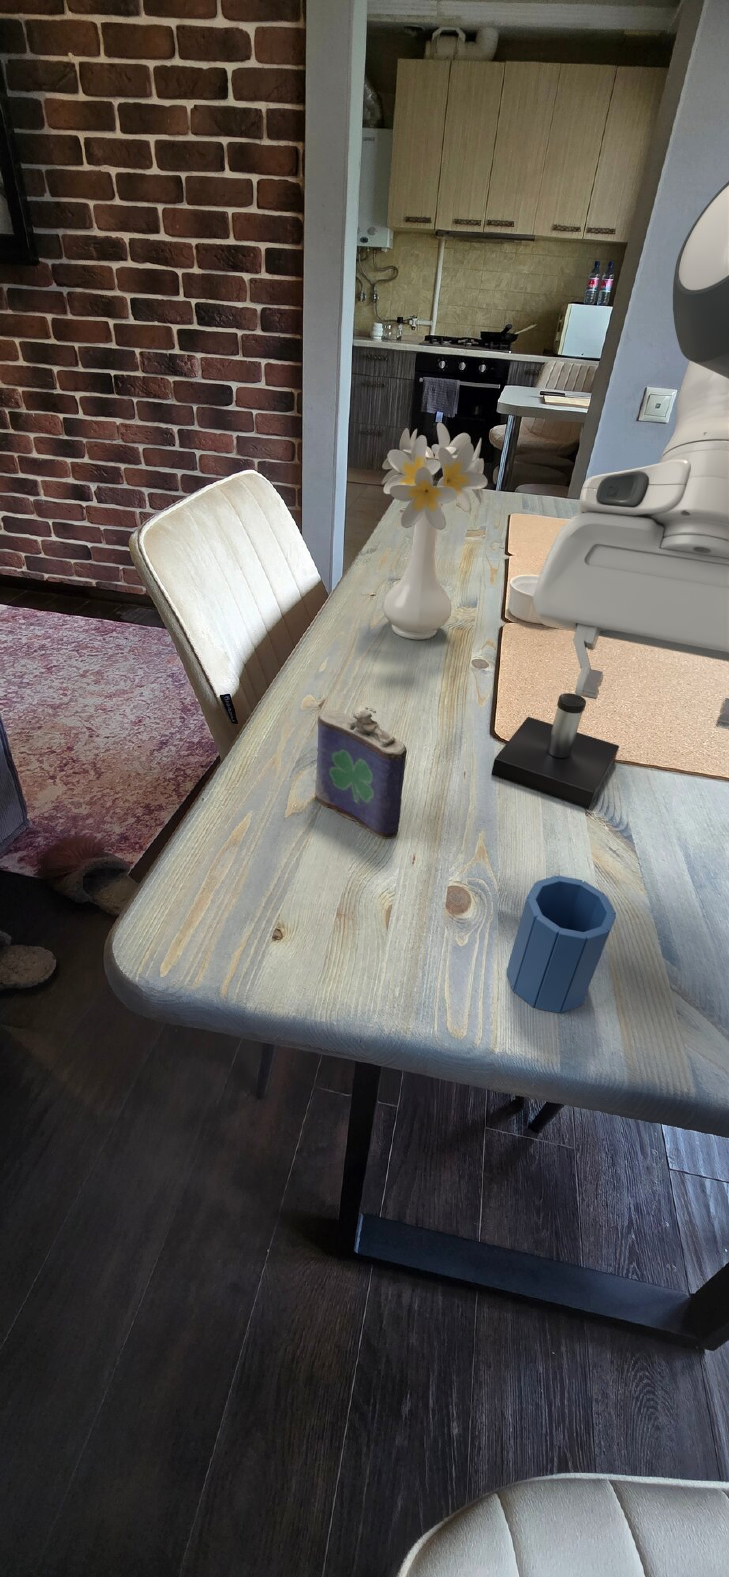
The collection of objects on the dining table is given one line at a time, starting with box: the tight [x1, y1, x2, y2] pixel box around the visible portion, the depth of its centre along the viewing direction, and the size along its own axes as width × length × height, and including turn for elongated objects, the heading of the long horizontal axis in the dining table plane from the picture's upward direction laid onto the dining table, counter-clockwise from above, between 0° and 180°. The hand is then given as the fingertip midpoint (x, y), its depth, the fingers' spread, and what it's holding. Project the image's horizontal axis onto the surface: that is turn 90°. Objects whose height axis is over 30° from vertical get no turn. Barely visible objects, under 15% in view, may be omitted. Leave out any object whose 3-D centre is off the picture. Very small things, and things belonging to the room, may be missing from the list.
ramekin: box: [507, 574, 543, 625], centre depth 107 cm, size 9×9×4 cm
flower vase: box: [381, 422, 488, 641], centre depth 93 cm, size 13×18×25 cm
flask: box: [314, 706, 408, 840], centre depth 64 cm, size 9×3×11 cm, turn 50°
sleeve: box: [506, 875, 617, 1014], centre depth 51 cm, size 6×6×8 cm
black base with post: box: [491, 692, 620, 810], centre depth 73 cm, size 10×10×8 cm
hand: (654, 711), depth 51 cm, fingers open, 8 cm apart
